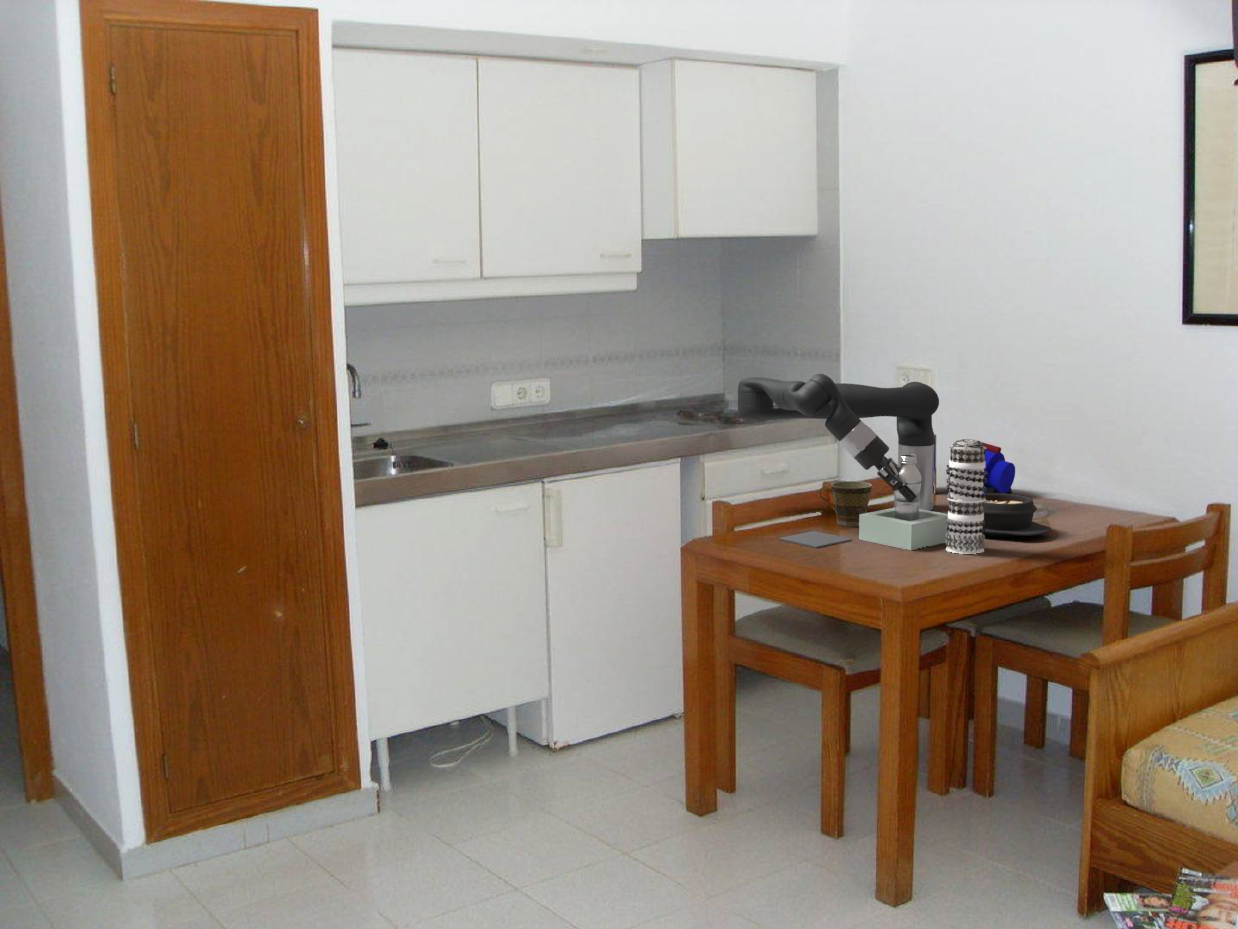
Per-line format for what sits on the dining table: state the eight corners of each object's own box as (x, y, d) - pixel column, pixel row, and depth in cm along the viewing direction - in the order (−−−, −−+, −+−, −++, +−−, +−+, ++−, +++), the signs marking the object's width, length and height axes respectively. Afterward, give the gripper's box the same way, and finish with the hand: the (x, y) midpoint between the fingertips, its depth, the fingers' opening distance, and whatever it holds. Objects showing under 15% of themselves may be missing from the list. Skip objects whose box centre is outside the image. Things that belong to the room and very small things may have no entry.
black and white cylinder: (935, 550, 293) (938, 440, 289) (959, 544, 299) (962, 436, 295) (970, 557, 286) (973, 444, 282) (993, 550, 292) (997, 440, 288)
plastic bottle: (926, 541, 302) (928, 456, 299) (902, 544, 300) (903, 458, 297) (910, 536, 308) (912, 452, 305) (886, 538, 306) (888, 454, 303)
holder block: (859, 539, 305) (859, 514, 304) (902, 530, 315) (902, 506, 314) (911, 550, 293) (911, 524, 292) (954, 540, 303) (955, 515, 302)
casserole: (932, 530, 315) (932, 496, 313) (978, 519, 326) (979, 486, 325) (1021, 547, 296) (1023, 510, 294) (1067, 535, 307) (1068, 500, 306)
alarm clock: (979, 490, 367) (980, 437, 364) (1019, 495, 358) (1021, 441, 356) (957, 496, 358) (958, 442, 356) (998, 501, 350) (1000, 446, 347)
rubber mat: (778, 539, 306) (778, 538, 306) (814, 532, 314) (814, 531, 314) (816, 548, 297) (816, 546, 297) (851, 540, 304) (851, 539, 304)
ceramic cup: (869, 520, 327) (870, 481, 326) (873, 528, 317) (873, 488, 316) (817, 520, 329) (817, 481, 327) (819, 528, 319) (819, 488, 317)
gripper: (856, 451, 311) (905, 502, 310) (848, 460, 298) (900, 513, 296) (879, 430, 309) (929, 481, 307) (872, 438, 296) (924, 491, 294)
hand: (914, 496), depth 302 cm, fingers closed on plastic bottle, 6 cm apart
